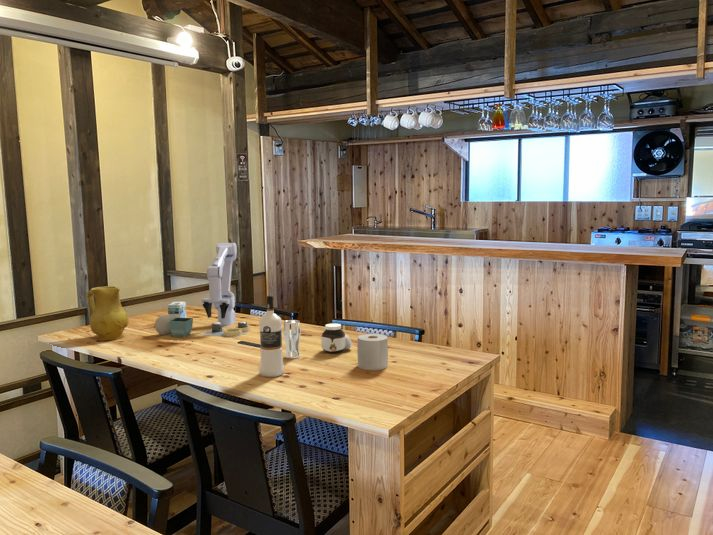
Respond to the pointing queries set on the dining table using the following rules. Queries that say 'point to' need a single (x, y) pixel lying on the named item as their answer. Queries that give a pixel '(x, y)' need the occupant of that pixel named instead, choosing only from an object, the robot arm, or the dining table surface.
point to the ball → (163, 324)
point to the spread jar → (335, 339)
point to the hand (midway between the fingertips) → (216, 317)
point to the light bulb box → (177, 309)
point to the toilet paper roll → (372, 351)
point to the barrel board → (231, 331)
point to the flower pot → (181, 326)
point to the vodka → (271, 342)
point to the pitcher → (106, 313)
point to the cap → (216, 327)
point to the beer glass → (292, 338)
